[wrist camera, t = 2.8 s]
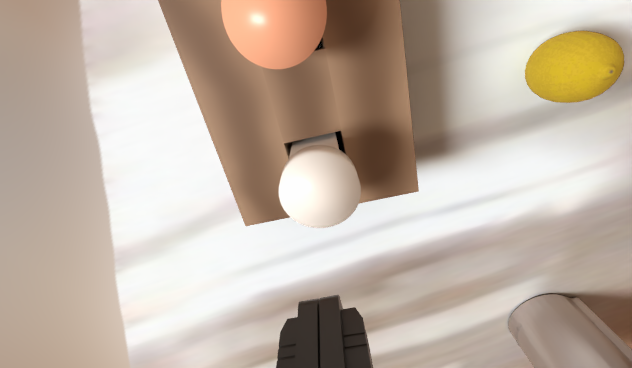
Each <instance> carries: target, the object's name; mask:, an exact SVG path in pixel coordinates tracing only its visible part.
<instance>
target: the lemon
mask: <svg viewBox="0 0 632 368" xmlns="http://www.w3.org/2000/svg"><path fill="white" fill-rule="evenodd" d="M623 66H624V54H623V51H622V48H621V47H620V45H619V44H618V43H617V42H616V41H615V40H614V39H612V38H610V37H608V36H606V35H604V34H600V33H596V32H589V31H575V32H568V33H563V34H560V35H558V36H555V37H553V38H551V39H549V40H547V41H546V42H544V43H543V44H541V45H540V46H539V47H538V48H537V49H536V50H535V51H534V52H533V54H532V55H531V56H530V58H529V60H528V62H527V65H526V69H525V79H526V82H527V85H528V86H529V88H530V89H531V90H532V91H533V92H534V93H535V94H537V95H538V96H539V97H541V98H543V99H546V100H550V101H553V102H567V103H570V102H580V101H584V100H588V99H591V98H593V97H596V96H598V95H600V94H602V93H603V92H605V91H606V90H607V89H609V88H610V87H611V86H612V85H613V84H614V83H615V82H616V80H617V79H618V77H619V76H620V74H621V72H622V70H623Z"/></svg>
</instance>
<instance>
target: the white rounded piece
mask: <svg viewBox="0 0 632 368" xmlns="http://www.w3.org/2000/svg"><path fill="white" fill-rule="evenodd" d="M360 196H361V186H360V182H359V178H358V175H357V172H356V169H355V166H354V164H353V163H352V161H351V160H350V158H349V157H348V156H347V155H346V154H345V153H343V152H342V151H340V150H339V147H338V142H337V138H336V134H335V132H333V133H328V134H324V135H320V136H315V137H311V138H306V139H302V140H297V141H293V143H292V147H291V151H290V156H289V160H288V161H287V162H286V164H285V166H284V169H283V172H282V176H281V180H280V184H279V199H280V202H281V205H282V207H283V209H284V210H285V212H286V213H287V214H288V215H289V216H290V217H291V218H292V219H293V220H295V221H296V222H298V223H300V224H302V225H305V226H308V227H313V228H326V227H331V226H334V225H337V224H339V223H341V222H343V221H344V220H346V219H347V218H348V217H349V216H350V215H351V214H352V213H353V212H354V211H355V209H356V207H357V205H358V203H359V200H360Z"/></svg>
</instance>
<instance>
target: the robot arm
mask: <svg viewBox="0 0 632 368" xmlns="http://www.w3.org/2000/svg"><path fill="white" fill-rule="evenodd" d="M508 326H509V330H510V332H511V334H512V335H513V337H514V338H515V340H516V342H517V343H518V345H519V346H520V347H521V349H522V350H523V352H524V353H525V355H526V356H527V358H528V359H529V361H530V362H531V364H532V365H533V367H534V368H632V349H631V348H630V347H629V346H628V345H627V344H626V343H625V342H624V341H623V340H622V339H621V338H620V337H618V336H617V335H616V334H615V333H614V332H613V331H612V330H611V329H610V328H609V327H608V326H607V325H606V324H605V323H604V322H603V321H602V320H601V319H600V318H599V317H598V316H597V315H596V314H595V313H594V312H593V311H592V310H591V309H590V308H589V307H588V306H586V305H585V304H584V303H583V302H582V301H581V300H580V299H579V298H568V297H565V296H563V295H557V294H548V295H541V296H538V297H535V298H532V299H530V300H528V301H526V302H524V303H523V304H521V305H520V306H519V307H518V308H517V309H516V310H515V311H514V312H513V313H512V315H511V317H510V319H509V323H508ZM276 368H373V365H372V359H371V354H370V348H369V343H368V339H367V335H366V330H365V326H364V322H363V318H362V317H361V315H360V314H359V312H358V311H357V310H356V308H355V307H354V308H349V309H343V308H342V304H341V300H340V297H339V295H334V296H329V297H323V298H320V299H312V300H307V301H301V302H299V305H298V317H296V318H291V319H287V321H286V323H285V325H284V326H283V328H282V330H281V332H280V341H279V349H278V361H277V366H276Z"/></svg>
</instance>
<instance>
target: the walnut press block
mask: <svg viewBox="0 0 632 368" xmlns="http://www.w3.org/2000/svg"><path fill="white" fill-rule="evenodd" d="M158 1H159V4H160V6H161V9H162V12H163V14H164V17H165V19H166V22H167V24H168V27H169V30H170V32H171V35H172V37H173V40H174V43H175V45H176V48H177V50H178V53H179V55H180V58H181V61H182V63H183V66H184V68H185V71H186V74H187V76H188V79H189V81H190V84H191V86H192V89H193V92H194V94H195V97H196V99H197V102H198V104H199V107H200V110H201V112H202V115H203V117H204V120H205V123H206V125H207V128H208V130H209V133H210V135H211V138H212V141H213V143H214V146H215V148H216V151H217V154H218V156H219V159H220V161H221V164H222V166H223V169H224V172H225V174H226V177H227V179H228V182H229V184H230V187H231V190H232V192H233V195H234V197H235V200H236V203H237V205H238V208H239V210H240V213H241V215H242V218H243V221H244V223H245V226H249V225H254V224H259V223H264V222H269V221H274V220H279V219H284V218H289V217H290V216H289V215H288V214H287V213H286V212H285V210H284V209H283V207H282V205H281V202H280V199H279V184H280V180H281V176H282V172H283V169H284V166H285V164H286V162H287V161H288V160H289V156H290V151H291V147H292V143H293V141H297V140H302V139H306V138H311V137H315V136H320V135H324V134H328V133H333V132H337V131H340V135H341V140H342V145H343V150H344V153H345V154H346V155H347V156H348V157H349V158H350V160H351V161H352V163H353V164H354V166H355V169H356V172H357V175H358V178H359V182H360V186H361V196H360V200H359V203H363V202H368V201H373V200H378V199H383V198H388V197H393V196H398V195H403V194H408V193H413V192H418V191H419V190H418V180H417V170H416V160H415V150H414V139H413V129H412V119H411V109H410V99H409V89H408V79H407V69H406V58H405V48H404V38H403V28H402V18H401V8H400V0H326V6H327V19H326V26H325V30H324V33H323V36H322V39H321V41H322V46H323V47H321V48H317V49H315V50H314V52H313V53H312V54H311V55H310V56H309V57H308V58H307V59H306V60H304V61H303V62H301V63H299V64H297V65H295V66H293V67H290V68H286V69H268V68H264V67H261V66H259V65H256V64H254V63H253V62H251V61H249V60H248V59H247V58H245V57H244V56H243V55H242V54H241V53H240V52H239V51H238V50H237V49H236V48H235V46H234V45H233V43H232V42H231V40H230V38H229V36H228V34H227V32H226V29H225V26H224V23H223V18H222V11H221V1H222V0H158Z"/></svg>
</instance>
